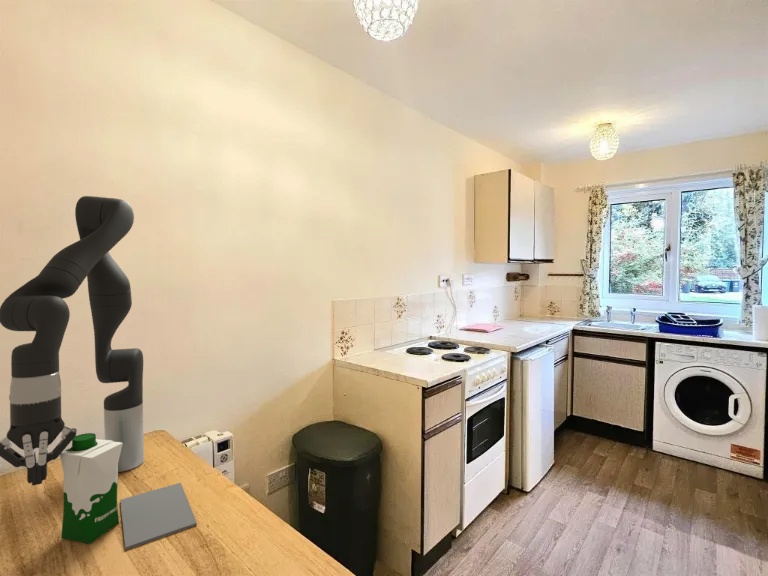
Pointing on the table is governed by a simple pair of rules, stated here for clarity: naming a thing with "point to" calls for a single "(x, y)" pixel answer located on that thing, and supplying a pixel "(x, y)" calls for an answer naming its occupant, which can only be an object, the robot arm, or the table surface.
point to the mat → (155, 515)
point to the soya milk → (90, 488)
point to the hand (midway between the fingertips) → (37, 483)
